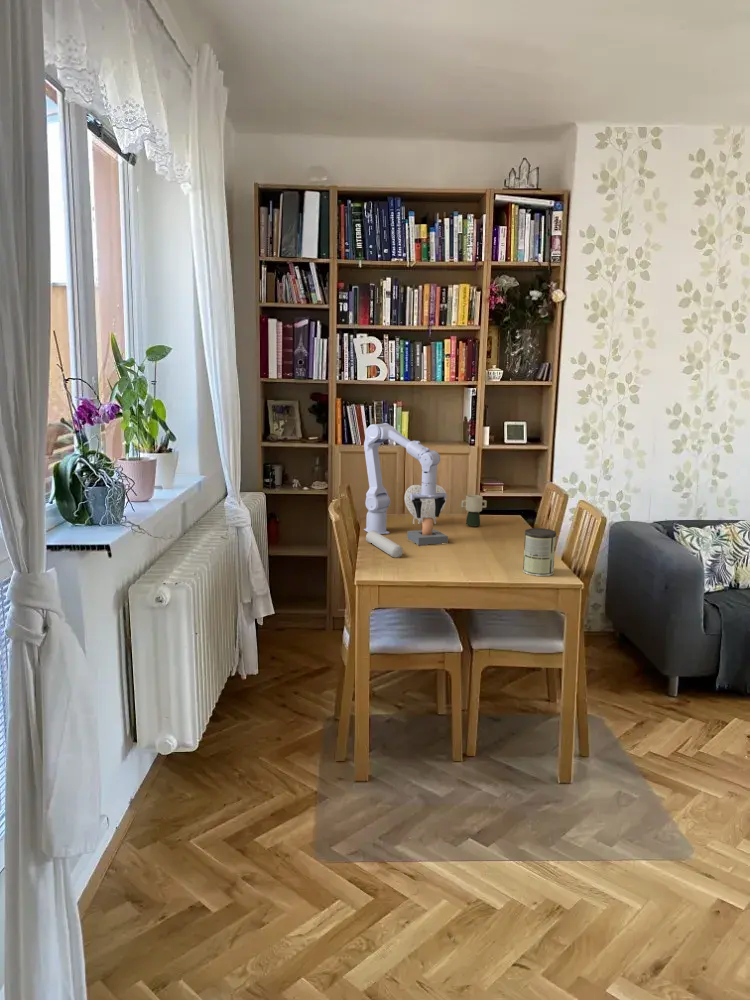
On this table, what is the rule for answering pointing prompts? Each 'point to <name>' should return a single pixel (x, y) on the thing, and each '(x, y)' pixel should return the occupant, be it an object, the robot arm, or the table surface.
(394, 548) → the tube
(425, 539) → the socket board
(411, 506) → the decorative heart
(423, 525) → the peg
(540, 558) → the coffee can
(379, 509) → the robot arm
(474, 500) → the beige and green trophy
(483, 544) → the table surface
